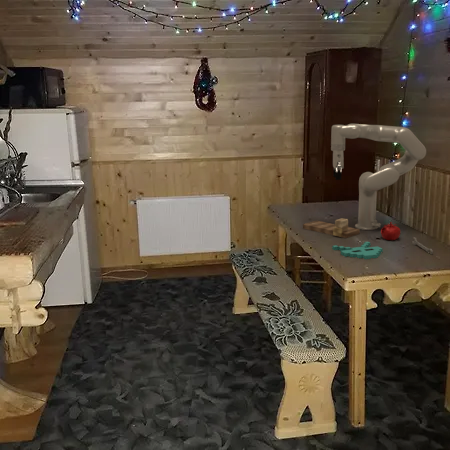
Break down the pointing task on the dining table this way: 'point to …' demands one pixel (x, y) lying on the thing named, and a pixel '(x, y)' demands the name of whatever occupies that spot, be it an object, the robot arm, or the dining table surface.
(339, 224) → the tan cardboard box
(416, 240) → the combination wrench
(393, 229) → the pomegranate
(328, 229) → the walnut board
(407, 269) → the dining table surface
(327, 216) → the dining table surface
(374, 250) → the alien figure
